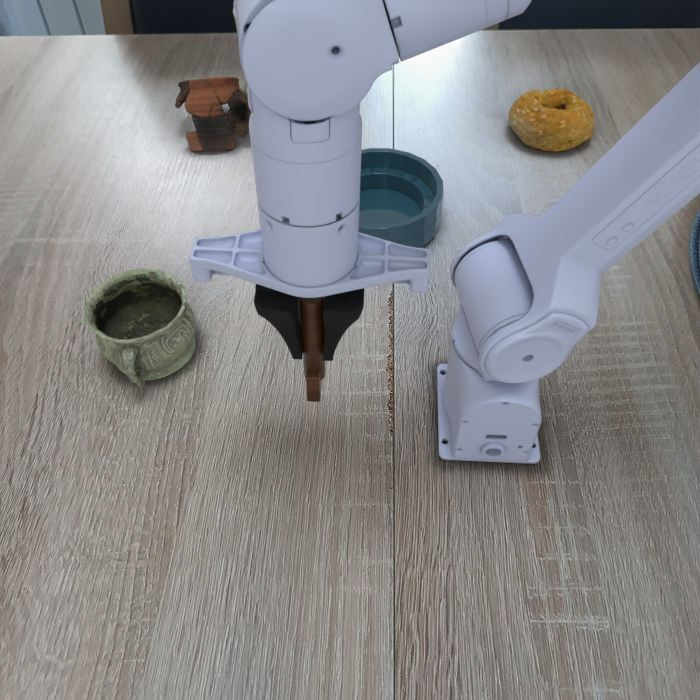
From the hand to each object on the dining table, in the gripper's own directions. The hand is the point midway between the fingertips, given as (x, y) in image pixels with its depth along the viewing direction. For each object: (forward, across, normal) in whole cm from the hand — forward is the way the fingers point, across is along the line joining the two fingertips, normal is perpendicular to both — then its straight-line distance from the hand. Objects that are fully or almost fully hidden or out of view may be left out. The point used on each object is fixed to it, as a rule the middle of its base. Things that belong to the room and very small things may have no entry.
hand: (314, 349), depth 47 cm
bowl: (+10, -4, -27) cm, 29 cm away
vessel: (+11, +16, -8) cm, 21 cm away
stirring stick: (+4, 0, 0) cm, 4 cm away
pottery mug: (+11, +15, -43) cm, 47 cm away
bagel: (+3, -69, -59) cm, 91 cm away
